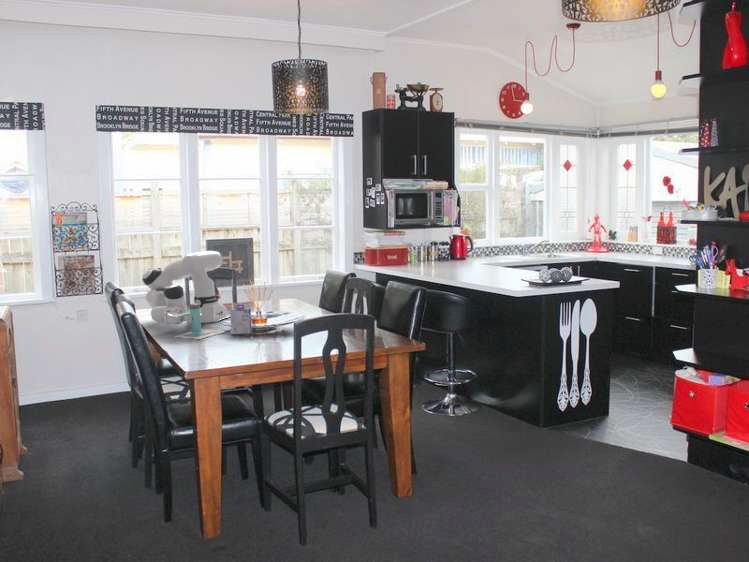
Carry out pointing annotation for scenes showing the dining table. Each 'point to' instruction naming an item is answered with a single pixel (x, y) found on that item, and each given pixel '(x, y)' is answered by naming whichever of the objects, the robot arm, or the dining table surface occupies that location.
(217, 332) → the picture board
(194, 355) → the dining table surface
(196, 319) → the teal canister
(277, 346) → the dining table surface
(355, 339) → the dining table surface
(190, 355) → the dining table surface
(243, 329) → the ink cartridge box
